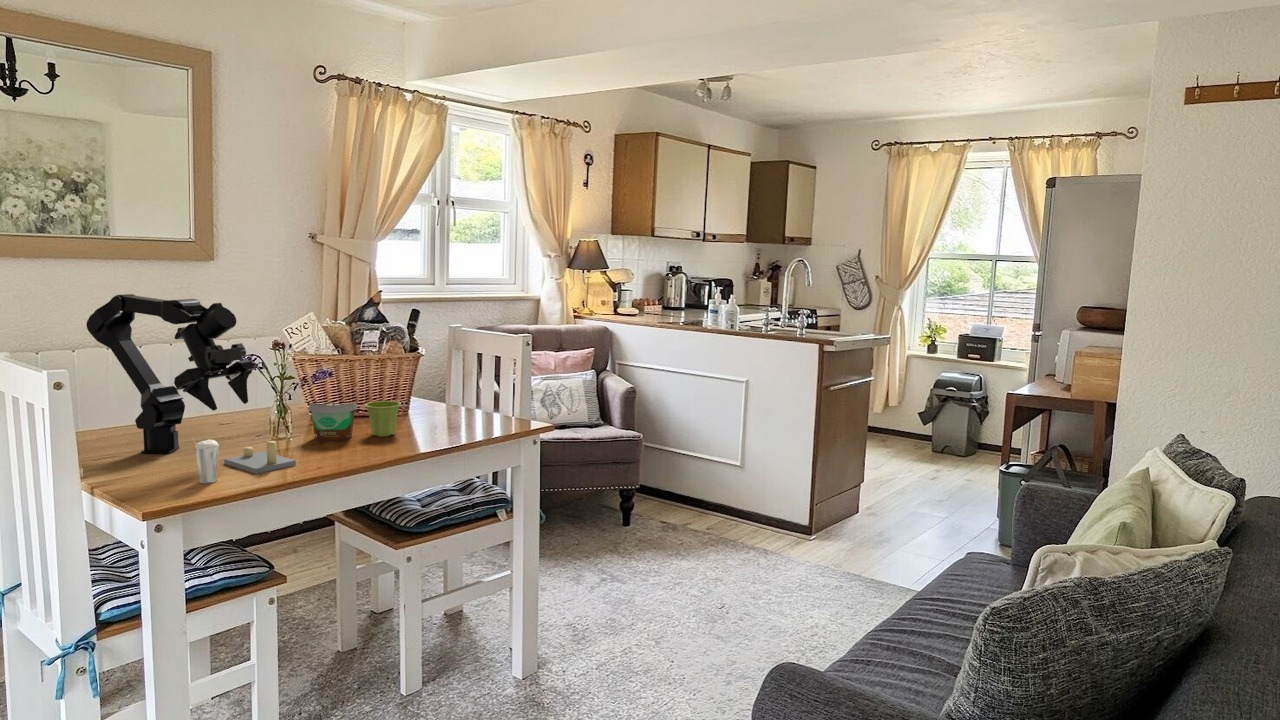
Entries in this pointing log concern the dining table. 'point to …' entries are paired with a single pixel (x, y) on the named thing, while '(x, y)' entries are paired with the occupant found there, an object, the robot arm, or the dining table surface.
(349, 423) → the food container
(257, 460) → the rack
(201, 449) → the milkshake
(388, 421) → the plant pot
